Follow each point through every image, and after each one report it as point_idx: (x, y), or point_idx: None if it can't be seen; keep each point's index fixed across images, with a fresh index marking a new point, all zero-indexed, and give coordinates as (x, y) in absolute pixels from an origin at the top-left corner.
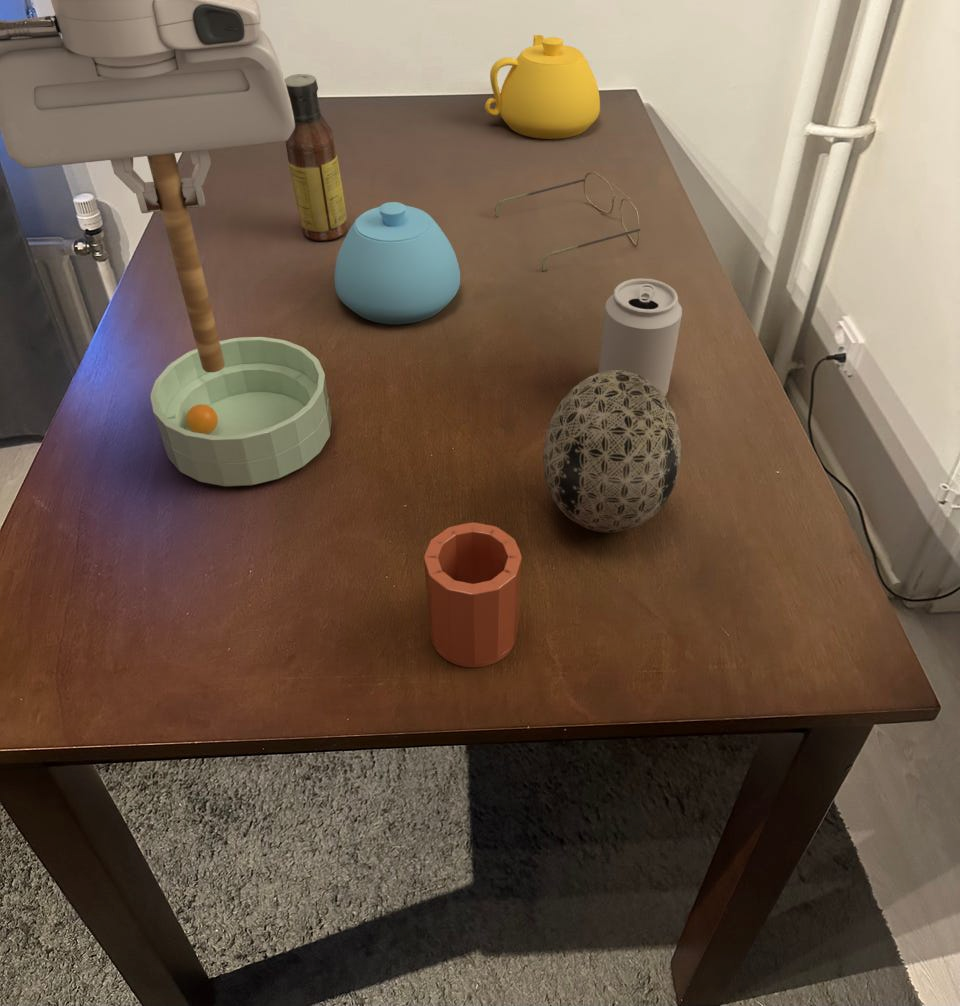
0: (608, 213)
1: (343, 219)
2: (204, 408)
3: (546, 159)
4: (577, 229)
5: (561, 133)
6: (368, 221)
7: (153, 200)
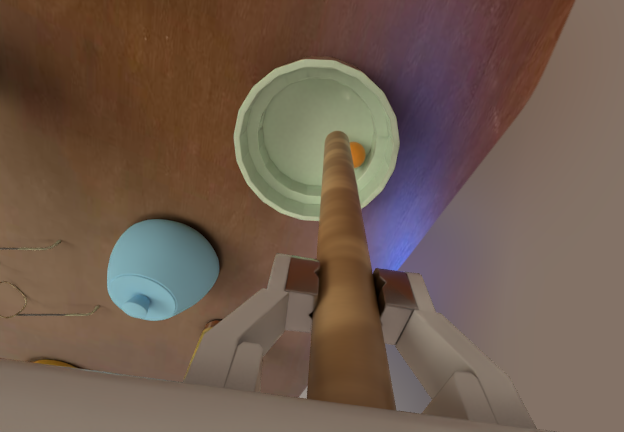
0: (8, 282)
1: (203, 331)
2: None
3: (62, 345)
4: (35, 275)
5: (48, 362)
6: (164, 307)
7: (392, 287)
